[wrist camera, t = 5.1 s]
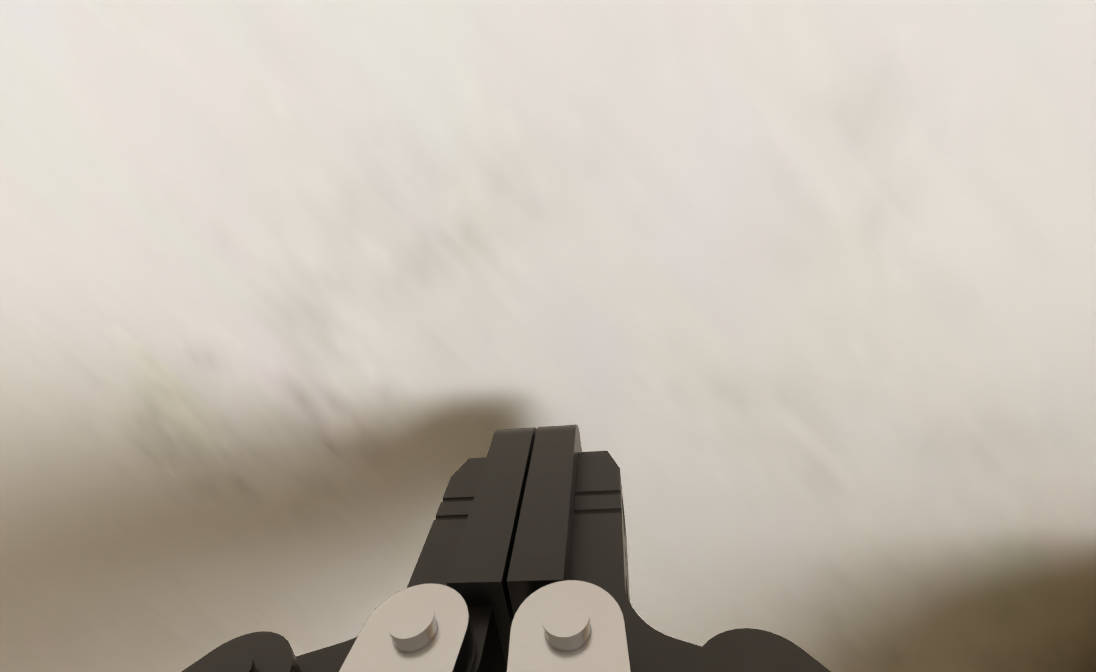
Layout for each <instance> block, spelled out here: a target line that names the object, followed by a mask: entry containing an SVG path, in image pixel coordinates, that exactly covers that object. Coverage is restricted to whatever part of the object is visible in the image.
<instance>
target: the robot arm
mask: <svg viewBox="0 0 1096 672" xmlns="http://www.w3.org/2000/svg"><path fill="white" fill-rule="evenodd" d="M182 672H830V671H829V670H828V669H826V668H825V667H824V666H823V665H821V664H820V663H819V662H818V661H816V660H815V659H814V658H813V657H811V656H810V655H809V654H807V653H806V652H805V651H804V650H802V649H801V648H800V647H798V646H797V645H795V644H794V643H792V642H791V641H789V640H787V639H785V638H783V637H781V636H779V635H776V634H773V633H771V632H767V631H763V630H758V629H748V628H745V629H734V630H730V631H726V632H723V633H721V634H718V635H716V636H715V637H713V638H712V639H710V640H709V641H708V642H707V643H706V644H705V645H704V646H703V647H701V646H697V645H694V644H691V643H687V642H684V641H681V640H677V639H674V638H672V637H669V636H666V635H664V634H662V633H660V632H658V631H656V630H655V629H653V628H652V627H650V626H649V625H648V624H646V623H645V622H644V621H643V620H642V619H641V618H640V617H639V616H638V615H637V613H636V612H635V611H634V609H633V608H632V606H631V604H630V598H629V581H628V561H627V540H626V528H625V517H624V507H623V497H622V486H621V476H620V468H619V467H618V465H617V464H616V462H615V461H614V460H613V458H612V457H611V456H610V454H609V453H608V451H596V452H582V450H581V442H580V434H579V429H578V426H577V425H566V426H549V427H538V428H537V429H536V428H519V429H503V430H496V432H495V434H494V437H493V440H492V443H491V446H490V449H489V452H488V455H487V458H471V459H468V460H467V461H466V462H465V464H464V465H463V466H462V467H461V468H460V469H459V470H458V471H457V472H456V473H455V474H454V475H453V476H452V477H451V479H450V481H449V484H448V486H447V489H446V491H445V494H444V496H443V502H441V504H440V507H439V509H438V512H437V514H436V520H434V522H433V524H432V527H431V529H430V532H429V534H428V537H427V539H426V542H425V544H424V547H423V549H422V552H421V554H420V557H419V559H418V562H417V564H416V567H415V569H414V572H413V574H412V577H411V579H410V582H409V584H408V587H407V588H406V589H404V590H402V591H399V592H397V593H396V594H394V595H392V596H391V597H389V598H388V599H386V600H385V601H384V602H382V603H381V604H380V605H379V606H378V607H377V608H376V609H375V610H374V611H373V613H372V614H371V615H370V616H369V618H368V619H367V621H366V622H365V624H364V626H363V628H362V629H361V631H360V633H359V635H358V637H356V638H354V639H351V640H348V641H345V642H343V643H339V644H336V645H333V646H330V647H326V648H323V649H320V650H317V651H313V652H310V653H307V654H304V655H300V656H297V657H295V655H294V653H293V650H292V648H291V646H290V644H289V642H288V641H287V640H286V639H285V638H284V637H283V636H281V635H279V634H276V633H272V632H255V633H250V634H246V635H243V636H240V637H237V638H235V639H232V640H230V641H228V642H226V643H224V644H223V645H221V646H219V647H218V648H216V649H214V650H213V651H211V652H210V653H208V654H207V655H205V656H204V657H203V658H201V659H200V660H198V661H197V662H195V663H194V664H192V665H191V666H189V667H188V668H186V669H185V670H183V671H182Z"/></svg>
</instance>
